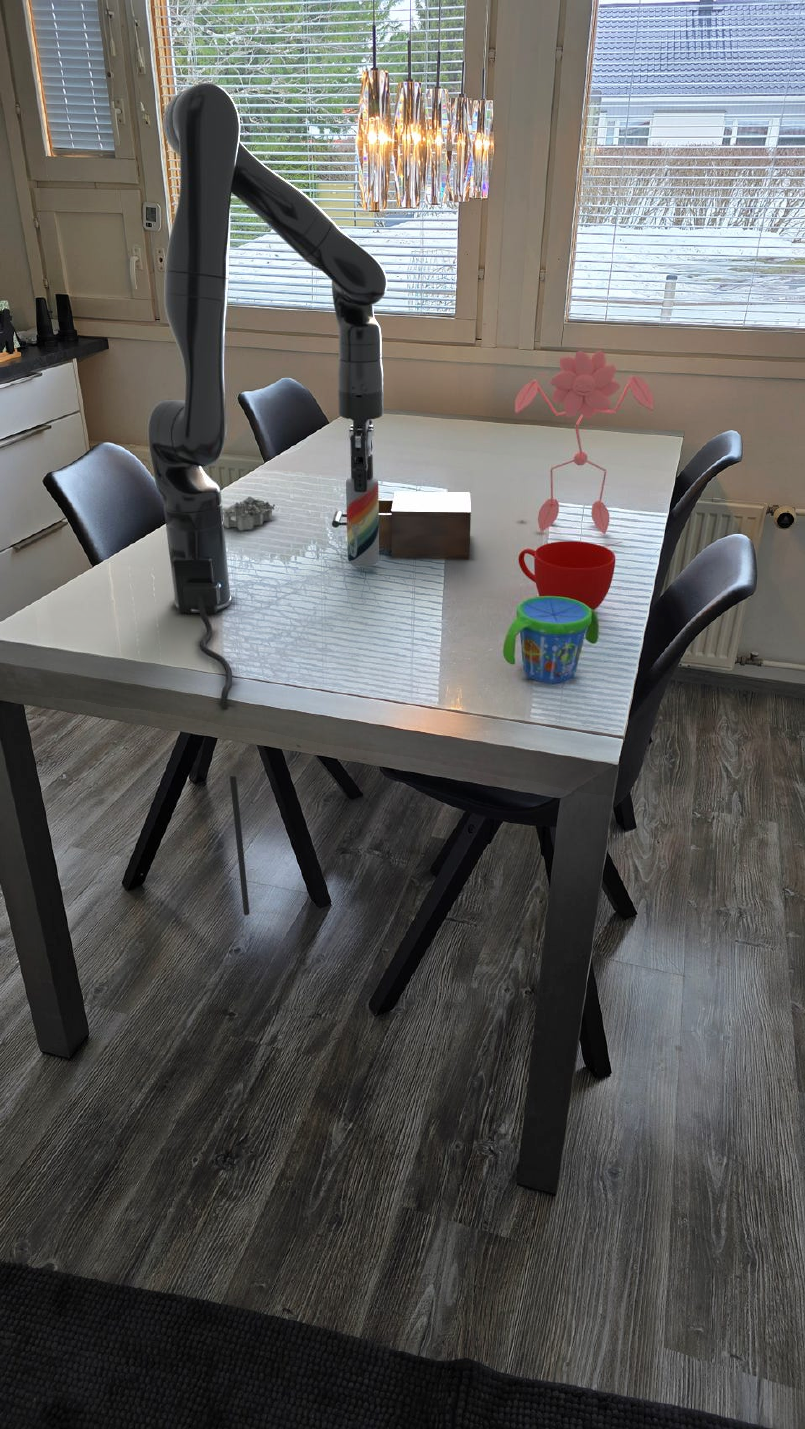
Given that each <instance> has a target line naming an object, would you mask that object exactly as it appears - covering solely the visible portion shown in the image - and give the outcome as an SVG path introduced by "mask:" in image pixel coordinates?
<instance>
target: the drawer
mask: <svg viewBox="0 0 805 1429" xmlns="http://www.w3.org/2000/svg"><path fill="white" fill-rule="evenodd" d="M392 504H393V498H392V499H389V498H387V499H386V498H379V550H390V551H392V542H391V510H392ZM342 518H347V512H342V511H341V510H337V511H335V513H334V514H333V518H332V521H331V526H332V527H333V528H336V529H337V528H339V527H340V526H347V521H342Z"/></svg>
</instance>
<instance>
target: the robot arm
mask: <svg viewBox="0 0 805 1429" xmlns="http://www.w3.org/2000/svg"><path fill="white" fill-rule="evenodd" d="M162 118H163V119H162V126H163V132H164V135H165V138H166V141H167V142H168V145H169V146H170V148H171V149H172V150H173V152H174V153H176V154H177V155H178V156H179V175H180V176H179V177H180V178H179V180H180V182H179V195H178V196H179V197H178V202H177V207H176V211H175V215H174V219H173V223H172V226H171V231H170V234H169V239H168V243H167V248H166V253H165V263H164V282H163V283H164V287H163V291H164V292H163V303H164V304H163V305H164V311H165V316H166V318H167V322H168V325H169V327H170V330H171V333H172V335H173V338H174V341H175V344H176V346H177V348H178V351H179V354H180V356H181V359H182V363H183V370H184V381H185V383H184V384H185V387H184V388H185V389H184V392H185V393H184V400H181V399H174V398H169V399H164V400H162V401H160V402H158V403H157V404H156V405H155V406H154V408H153V409H152V411H151V412H150V416H149V418H148V425H147V441H148V447H149V454H150V459H151V460H150V461H151V466H152V470H153V471H152V472H153V478H154V483H155V485H156V489H157V490H158V492H159V494H160V496H161V499H162V504H163V513H164V520H165V529H166V538H167V546H168V555H169V562H170V571H171V580H172V587H173V596H174V606H175V608H176V609H177V610H178V613H179V614H199V616H200V618H201V620H202V622H203V624H204V626H205V627H204V628H205V630H206V632H205V636H203V638H202V639H201V640H200V641H199V648H200V650H201V651H202V653H204V654H205V655H206V656H208V657H210V658H212V659H213V660H216V661H217V662H218V663H219V664H220V665H221V666H222V667H223V670H224V673H225V683H224V686H223V687H222V690H221V696H220V709H221V711H226V710H228V709H229V707H228V706H229V705H228V704H229V703H228V699H229V693H230V690H231V688H232V686H233V673H232V668H231V666H230V664H229V663H228V661H227V660H226V659H225V658H224V657H223V656H222V655H220V654H219V653H217V652H216V651H214V650H211V649H210V648H208V647H207V645H206V644H207V643H208V642H209V641H210V640H211V639H212V636H213V627H212V624H211V622H210V620H209V618H208V615H209V614H212V615H213V614H214V615H215V614H217V613H218V611H221V610H223V609H225V608H227V607H229V605H231V603H232V595H231V589H230V588H231V587H230V578H229V566H228V557H227V556H228V555H227V545H226V536H225V535H226V534H225V524H224V514H223V510H222V508H223V502H222V491H221V487H220V486H219V484H218V482H216V481H215V480H214V479H213V478H212V477H211V476H209V475H208V474H207V473H206V471H205V470H204V468H203V467H209V466H212V465H213V464H215V463H216V462H217V461H218V460H219V459H220V457H222V454H223V451H224V449H225V445H226V440H227V425H228V424H227V401H226V400H227V398H226V381H225V380H226V379H225V378H226V377H225V376H226V374H225V373H226V372H225V368H226V366H225V364H226V362H225V359H226V358H225V357H226V329H227V328H226V326H227V325H226V324H227V312H228V303H229V302H228V301H229V300H228V298H229V283H230V279H229V278H230V248H231V246H230V245H231V244H230V243H231V203H232V202H231V201H232V195H233V196H235V197H236V198H237V199H238V200H239V201H240V202H242V203H243V204H244V205H245V206H246V207H248V208H249V209H250V210H251V211H252V212H253V213H254V214H256V215H257V217H259V218H260V219H261V220H262V221H263V222H264V223H265V224H266V225H267V226H268V227H269V228H271V229H272V230H273V231H274V232H275V234H277V235H278V236H279V237H280V238H281V239H282V240H283V241H284V242H285V243H286V244H287V245H288V246H290V248H292V249H293V250H294V251H295V252H296V253H297V255H299V257H301V258H302V259H303V260H304V261H305V262H306V263H307V264H310V265H311V266H312V267H313V268H315V269H318V270H320V271H321V272H322V273H324V274H325V275H326V276H327V277H328V278H329V279H330V280H331V294H332V302H333V307H334V313H335V318H336V319H335V320H336V322H337V327H338V369H337V387H338V390H337V391H338V394H337V396H338V414H339V416H340V417H342V418H343V419H347V420H352V425H350V426H349V429H348V439H349V454H350V461H351V460H352V464H351V463H350V468H351V467H352V470H354V490H355V492H366V491H367V468H368V466H367V465H368V457H370V455H371V454H372V452H373V446H374V438H373V437H374V433H375V432H374V431H375V429H374V428H375V427H374V425H373V421H372V420H377V419H380V418H381V417H383V415H384V370H383V361H382V330H381V326H380V324H379V322H378V321H377V320H376V318H375V314H374V305H375V304H378V303H379V302H380V301H381V300H382V299H383V297H384V296H385V294H386V291H387V288H388V279H387V274H386V272H385V270H384V268H383V266H382V265H381V263H380V262H379V261H378V260H377V259H376V258H375V257H374V256H373V255H372V254H370V253H369V252H368V250H366V249H364V248H363V247H362V246H361V245H360V244H358V243H357V242H356V241H355V240H353V239H352V238H351V237H349V236H348V235H347V234H346V233H344V232H343V230H341V229H340V228H339V227H338V225H337V224H336V223H335V222H334V221H333V220H332V219H331V218H330V217H329V216H328V215H327V213H325V212H324V211H323V210H322V209H321V207H319V206H318V205H317V204H316V203H315V202H314V200H312V199H311V198H309V197H308V195H306V194H305V193H304V192H302V191H301V190H300V189H298V188H297V187H296V186H294V185H293V184H291V183H290V182H289V181H287V180H286V179H284V178H283V177H281V176H280V175H278V174H277V173H276V172H274V171H272V170H271V169H270V168H269V167H267V166H266V165H265V164H263V162H261V161H260V160H259V159H258V158H257V157H256V156H254V155H253V154H252V153H251V152H250V151H249V150H248V148H246V147H245V145H243V143H242V142H241V141H240V134H241V123H240V115H239V112H238V109H237V107H236V104H235V102H234V100H233V99H232V97H231V96H230V94H229V93H228V92H227V91H226V90H225V89H224V88H222V87H221V86H219V85H217V84H215V83H211V82H201V83H197V84H195V85H194V84H193V85H192V86H190V87H188V88H186V89H184V90H183V91H180V92H179V93H177V94H176V95H175V96H174V97H173V98H171V100H170V101H169V102H168V103H167V105H166V106H165V109H164V113H163V117H162ZM357 457H363V462H356V458H357ZM207 614H208V615H207ZM237 782H238V781H237V776H233V775H230V776H229V783H230V792H231V802H232V811H233V822H234V830H235V831H234V832H235V842H236V851H237V852H236V853H237V861H238V871H239V872H238V873H239V881H240V891H241V901H242V909H243V915H244V916H250V914H251V913H250V904H249V894H248V893H249V892H248V882H247V874H246V873H247V872H246V864H245V863H246V862H245V852H244V843H243V833H242V832H243V831H242V822H241V812H240V802H239V801H240V800H239V791H238V783H237Z"/></svg>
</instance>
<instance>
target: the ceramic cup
mask: <svg viewBox="0 0 805 1429" xmlns="http://www.w3.org/2000/svg"><path fill="white" fill-rule="evenodd" d="M547 543H548V544H547ZM547 543H544V544H542V545H540V546H539V547H537V548H536V549H532V548H524V549H522V550H521V551H520V553H519V555H518V559H517V560H518V565H519V567H520V570H521V572H522V573H523V574H524V575H525V576H526V577H527V578H528V579H529V580H530V581H532V582H533V583H535V586H536V590H537V594H538V597H541V596H556V597H565V598H570V599H574V600H577V601H579V602H582V603H584V604H585V605H587V606H588V607H589V608H590V609H592V610H593V611H595V610H596V609H597V608H599V606H600V605H601V604H602V603H603V601H604V600H605V599H606V596H607V595H608V593H609V592H610V589H611V585H612V581H613V578H614V573H615V567H616V555H615V553H614V552H613V551H612V550H611V549H609V548H608V547H605V546H604V545H601V544H596V543H592V542H587V541H579V540H562V541H561V540H559V541H552V542H547ZM526 554H527V555H530V556H532V557H533V559H534V560H533V563H534V564H533V570H534V571H533V572H534V573H533V572H532V571H531V570H530V569H529V567H528V566H527V564H526V561H525V556H526Z"/></svg>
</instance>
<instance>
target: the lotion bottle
mask: <svg viewBox="0 0 805 1429" xmlns="http://www.w3.org/2000/svg"><path fill="white" fill-rule="evenodd" d="M356 462H363V457H357V458H356ZM351 464H352V460H351V459H350V465H351ZM367 466H368V468H367V491H366V492H355V490H354V470H352V467H351V466H350V477H349V478H347V479H346V480H345V500H346V501H345V502H346V505H345V506H346V513H347V517H346V522H347V525H346V544H347V545H346V546H347V562H348V564H349V565H351V566H353V567H358V568H368V567H369V568H370V567H373V566H376V565H378V563H379V560H380V549H379V499H380V498H379V480H378V478H376V477H374V454H373V453H371V455H370V457H368V465H367Z"/></svg>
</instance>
